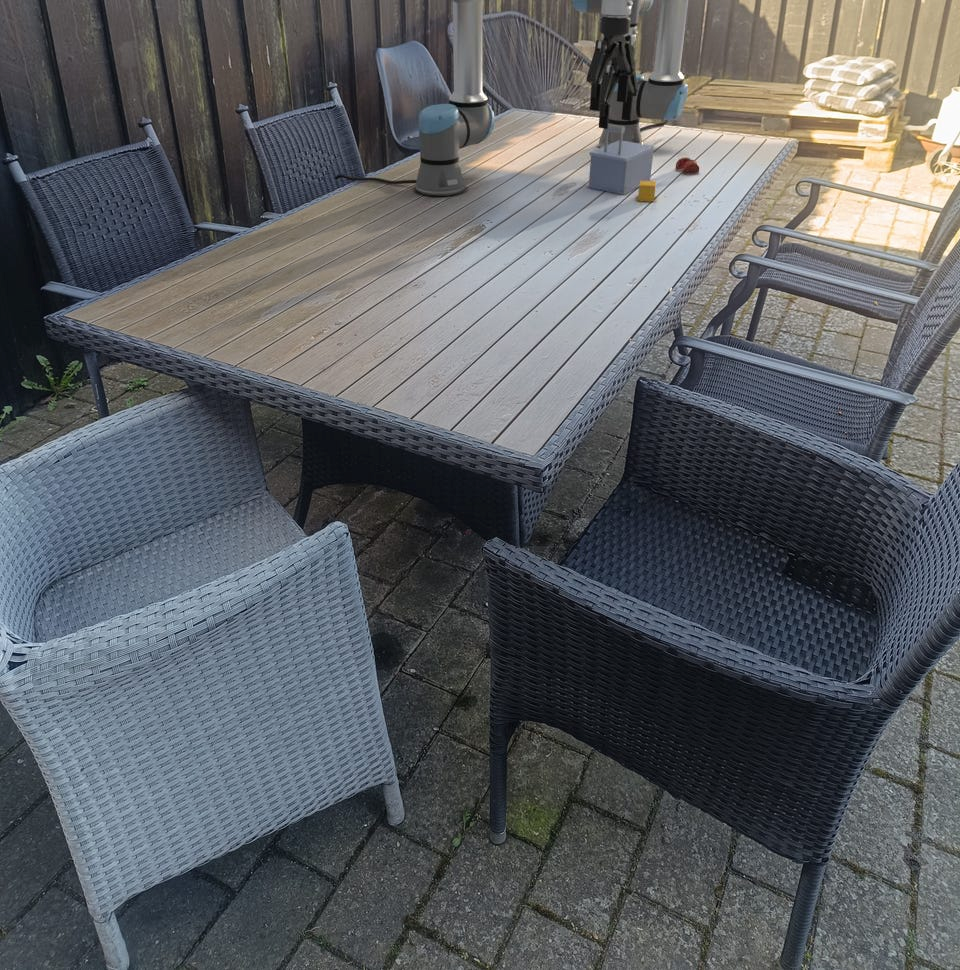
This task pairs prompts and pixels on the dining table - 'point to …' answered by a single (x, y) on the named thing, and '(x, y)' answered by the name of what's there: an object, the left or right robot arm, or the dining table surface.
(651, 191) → the block
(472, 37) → the left robot arm
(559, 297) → the dining table surface
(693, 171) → the dark red rounded lump
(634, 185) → the chest
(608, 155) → the lid
